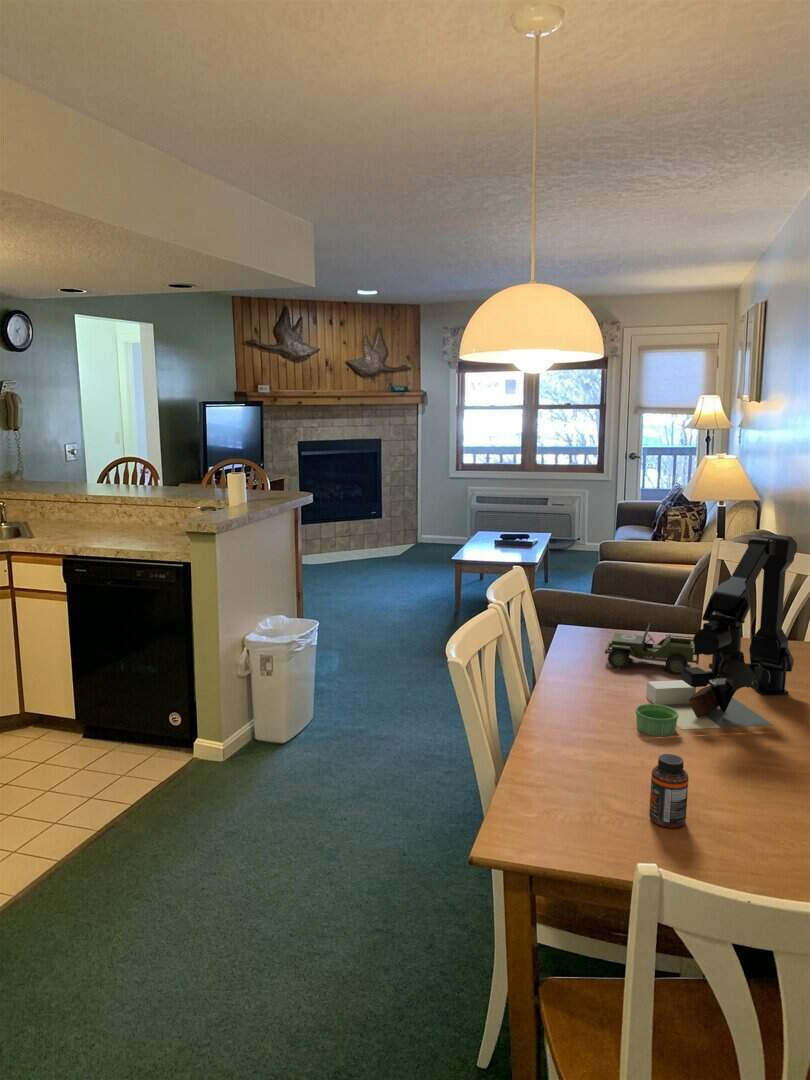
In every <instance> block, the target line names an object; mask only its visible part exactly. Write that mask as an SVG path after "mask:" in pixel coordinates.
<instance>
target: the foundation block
mask: <svg viewBox="0 0 810 1080" xmlns="http://www.w3.org/2000/svg"><path fill="white" fill-rule="evenodd" d="M695 693H697V687H691V686H690V685H688V684H687V683H686V682H684V681H683V680H681V679H679V680H678V679H677V680H656V681H655V680H654V681H653V680H651V681H646V693H645V694H646V695H645V699H647V698H648V699H649V700H648V699H647V700H648V701H650V702H651V704H658V705H665V704H687V703H689V698H690V697H691V696H692V695H694V694H695Z"/></svg>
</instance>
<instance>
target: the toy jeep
mask: <svg viewBox="0 0 810 1080" xmlns="http://www.w3.org/2000/svg"><path fill="white" fill-rule="evenodd" d="M650 627H651V622H649V624H648V625H647V627H646V629H645V631H644V633H643V635H636V634H628V633H627V634H626V633H616V632H615V633H614V634H613V636H612V640H611V641H608V642H607V644H606V645H605V650H604V654H605V655H607V654H608V656H607V660H608V664H609V665H610V666H611V667H613V668H614V667H615V668H614V669H618V668H620V669H621V670H622V669H624V668H626V667H627V666H628V665H629V662H630V656H631V657H633V658H635V659H638V660H644V661H653V662H662V663H663V662H664V663H665V669H666V670H667V672H668V673H669V674H673V675H679V676H681V671H682V670H683V669H684V668H689V663H692V664H696V665H699V662H700V661H699V660H700V656H701V655H703V654H702V653H700V652H699V651H698V650H697V649H696V647H695V646H694V641H693V639H694V636H693V637H691V636H683V635H674V634H673V635H672V634H670V633H669V634H665V637H664V638H663V639H661V641H659V642H658V643H656V642H655V639H654V638H653V637H652V636H651V635H650V634H648V633H649V629H650ZM647 636H648V638H649V639H648V640H647V639H646V637H647ZM646 640H647V641H646ZM650 641H651V642H652V643H649V642H650ZM694 656H696V660H694Z"/></svg>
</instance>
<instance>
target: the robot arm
mask: <svg viewBox="0 0 810 1080" xmlns="http://www.w3.org/2000/svg"><path fill="white" fill-rule="evenodd" d="M797 551H798V543H797V541H796V540H795V539H794V537H792V536H791V535H784V534H783V535H782V534H774V533H763V534H762V535H761V537H760V536H752V537H750V538H749V540H748V543H747V548H746V550H745V552H744V554H743V555H742V557H741V559H740V560H739V562H738V564H737V565H736V567H735V570H734V571H733V573H732V575H731V576H730V578H729V579H728V580H726V581H723V582H721V583H720V584H719V585H718V586H717V587H716V589H715V590H714V592H713V593H712V594H711V595H710V598H709V599H708V603H707V605H706V608H705V611H704V612H703V613H704V614H703V616H702V621H706V622H704V623H703V625H702V628H701V629H699V630H698V631H696V632H695V634H694V636H693V637H694V639H693V638H692V639H693V641H694V646H695V647H696V649H697V650H698V651H699V652H700V653H702V654H701V655H704V656H712V658H711V659H712V660H711V663H708V668H709V669H710V671H705V670H703V669H702V668H700V667H698V666H695V667H694V666H693V667H691V666H690V667H689V666H688V668H684V669H683V670H682V671H681V675H680V680H683V681H684V682H686V683H687V684H688V685H690V686H691V687H696V688H704V687H707V686H711V688H712V689H713V691H714V694H715V696H716V699H717V701H718V704H719V706H720V709H721V711H723V712H725V711H726V709H727V707H728V705H729V703H730V701H731V699H732V697H733V698H734V695H735V693H736V692H737V691H738V690H739V689H742V688H752V689H754V690H757V691H758V692H759V693H760V694H762V695H766V696H769V695H773V696H774V695H788V694H789V691H788V690H786V680H787V678H786V677H787V672H789V673H790V672H792V671H793V667H794V660H795V659H794V658H793V656H792V653H791V651H790V649H789V638H788V637H787V635H786V633H785V631H784V629H783V628H782V627H783V612H784V599H785V585H786V584H785V582H786V572H787V570H788V569H789V567H790V566H791V565H792V564H793V563H794V560H795V555H796V553H797ZM762 570H763V580H762V595H761V597H762V598H761V609H760V610H761V612H760V622H759V623H760V625H759V629H758V630H757V631H756V632H755V633H754V635H752V636H751V638H750V645H749V649H748V650H749V659H750V660H749V661H750V662H748V663H747V662H745V661H746V660H745V655H744V652H743V651H741V647H742V645H741V644H742V633H743V632H742V630H743V624H744V623H745V621H746V617H747V615H748V613H749V612H750V609H751V602H752V600H751V595H750V592H751V590H752V588H753V586H754V584H756V580H757V579H758V577H759V576H760V573H761V571H762Z"/></svg>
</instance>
